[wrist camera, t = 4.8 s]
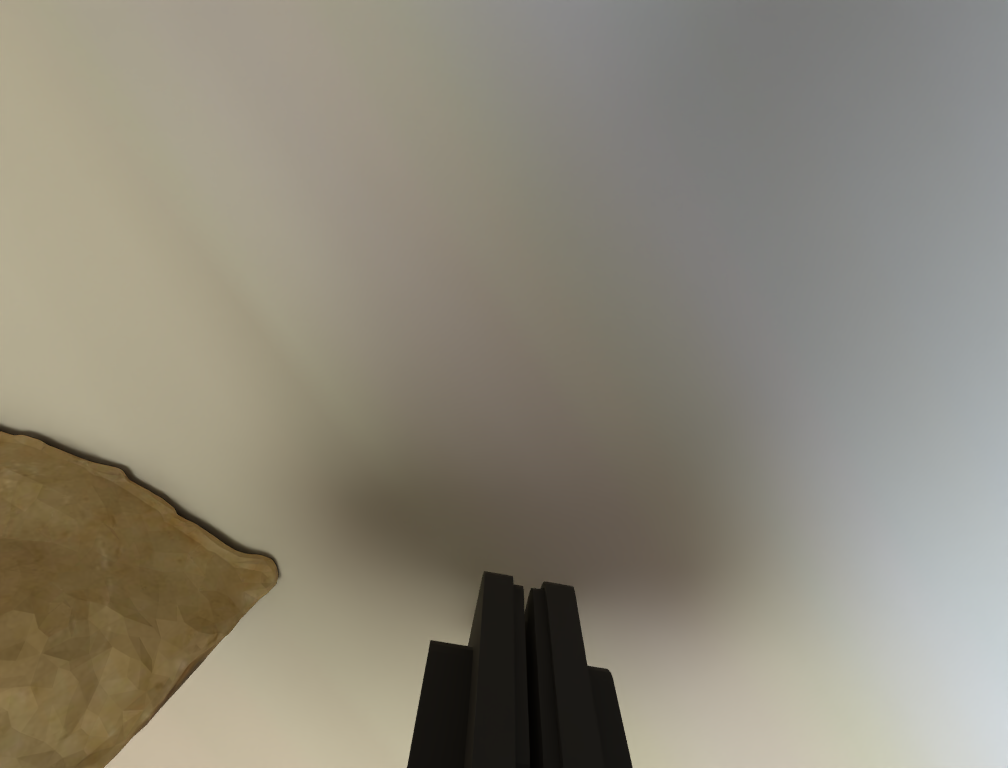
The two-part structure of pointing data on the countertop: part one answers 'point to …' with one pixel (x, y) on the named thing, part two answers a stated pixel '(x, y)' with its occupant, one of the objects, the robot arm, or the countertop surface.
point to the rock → (101, 605)
